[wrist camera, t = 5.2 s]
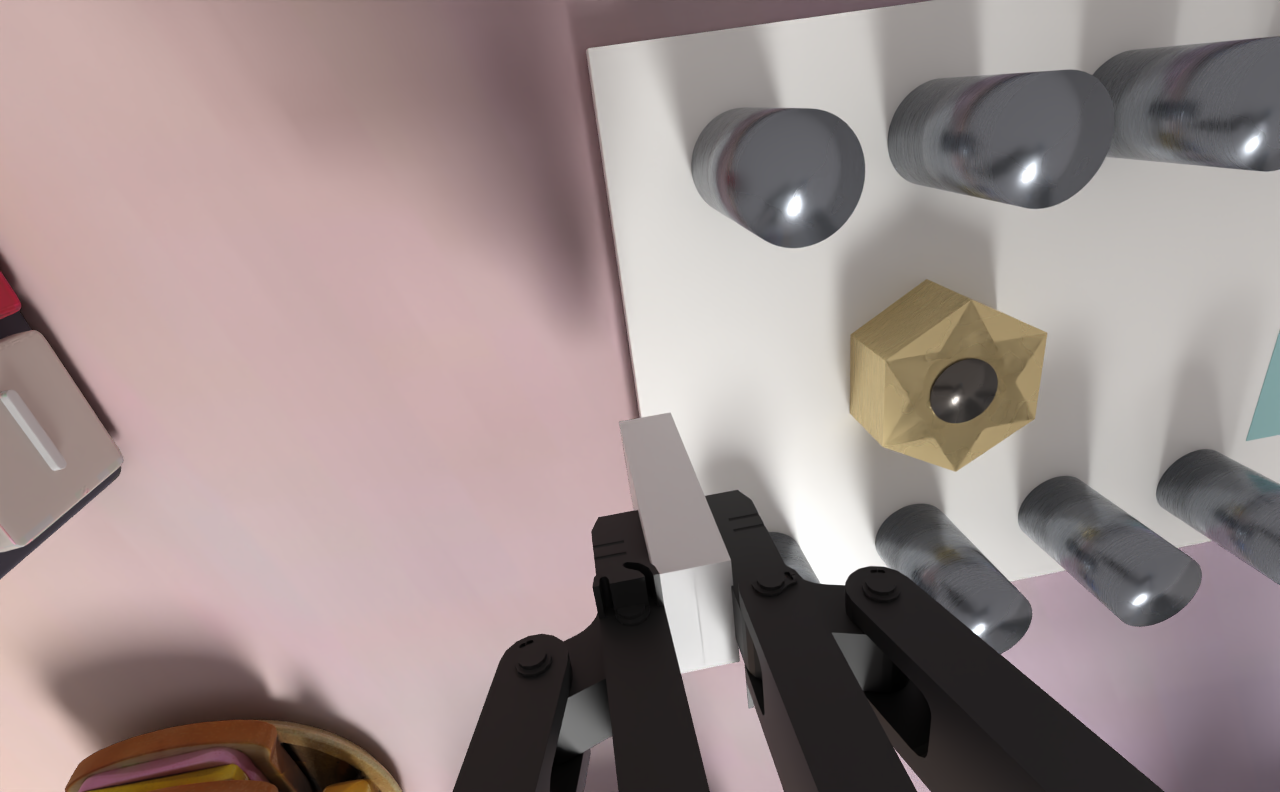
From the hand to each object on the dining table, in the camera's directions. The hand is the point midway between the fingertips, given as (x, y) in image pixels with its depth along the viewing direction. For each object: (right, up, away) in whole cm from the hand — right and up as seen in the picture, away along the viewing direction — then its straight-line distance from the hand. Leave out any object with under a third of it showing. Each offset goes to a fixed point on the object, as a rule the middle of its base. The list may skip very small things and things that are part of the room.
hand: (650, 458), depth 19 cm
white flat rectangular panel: (+15, +4, +5) cm, 17 cm away
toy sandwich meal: (-17, -16, +10) cm, 26 cm away
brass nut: (+10, +3, +4) cm, 11 cm away
